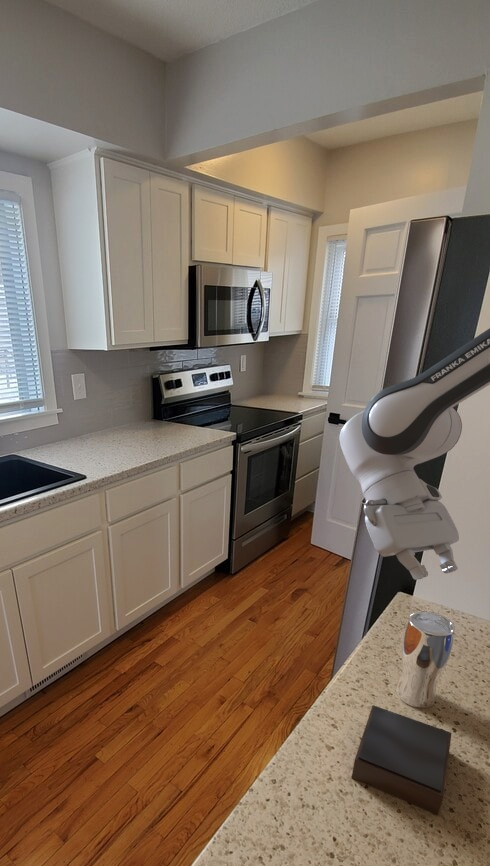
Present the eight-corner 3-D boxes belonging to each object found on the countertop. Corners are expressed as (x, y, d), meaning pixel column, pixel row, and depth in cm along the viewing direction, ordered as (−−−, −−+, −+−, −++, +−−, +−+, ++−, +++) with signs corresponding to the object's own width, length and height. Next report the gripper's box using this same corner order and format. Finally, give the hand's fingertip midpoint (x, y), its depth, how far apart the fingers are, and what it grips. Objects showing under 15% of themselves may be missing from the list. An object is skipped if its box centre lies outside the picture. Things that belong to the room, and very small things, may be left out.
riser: (369, 722, 78) (372, 703, 77) (446, 750, 73) (452, 731, 71) (351, 778, 69) (354, 757, 68) (438, 815, 64) (444, 794, 62)
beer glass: (438, 688, 85) (456, 616, 79) (438, 715, 79) (457, 640, 73) (394, 677, 88) (408, 606, 82) (391, 702, 82) (406, 629, 76)
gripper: (376, 489, 73) (420, 574, 68) (443, 489, 85) (484, 561, 80) (344, 510, 78) (384, 590, 73) (412, 507, 90) (449, 575, 85)
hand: (437, 574), depth 77 cm, fingers open, 8 cm apart
